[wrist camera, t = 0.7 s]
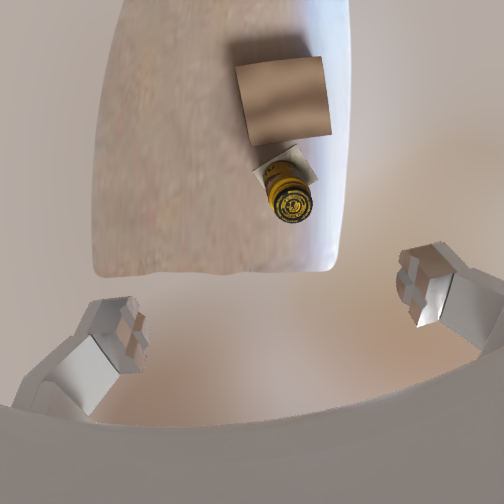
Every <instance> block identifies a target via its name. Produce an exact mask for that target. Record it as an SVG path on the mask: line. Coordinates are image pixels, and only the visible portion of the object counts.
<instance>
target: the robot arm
mask: <svg viewBox="0 0 504 504" xmlns="http://www.w3.org/2000/svg"><path fill="white" fill-rule="evenodd" d="M399 263H400V264H401V266H402V268H401V269H400V270H399V272H398V273H397V278H396V287H397V292H398V295H399V297H400V299H401V301H402V302H403V303H405V304H407V305H408V306H410V307H409V314H410V316H411V317H412V319H413V320H414V322H415V324H416V325H417V327H418V326H422V325H426V324H429V323H433V322H436V321H439V320H440V322H441V323H442V324H444V325H445V326H447V327H448V328H450V329H451V330H453V331H454V332H455V333H457V334H458V335H460V336H461V337H463V338H464V339H466V340H467V341H468V342H470V343H471V344H473V345H474V346H475V347H477V348H478V349H480V350H481V352H480V354H479V356H478V358H477V359H476V360H474V361H472V362H470V363H468V364H465V365H463V366H461V367H459V368H456V369H454V370H452V371H449V372H447V373H444V374H442V375H439V376H437V377H434V378H432V379H429V380H426V381H424V382H421V383H418V384H415V385H413V386H410V387H407V388H404V389H401V390H398V391H395V392H392V393H389V394H385V395H382V396H378V397H375V398H372V399H368V400H365V401H361V402H357V403H353V404H349V405H345V406H341V407H336V408H332V409H328V410H323V411H318V412H313V413H308V414H302V415H297V416H291V417H285V418H279V419H271V420H264V421H256V422H247V423H237V424H226V425H211V426H185V427H156V426H130V425H115V424H104V423H96V422H95V421H94V420H93V419H91V418H90V417H89V415H90V414H91V412H92V411H93V410H94V408H95V407H96V406H97V404H98V403H99V402H100V400H101V399H102V398H103V397H104V395H105V394H106V393H107V391H108V390H109V389H110V387H111V386H112V385H113V384H114V382H115V381H116V380H117V378H118V377H119V376H120V375H119V374H132V373H143V370H144V365H145V361H146V357H147V356H146V354H145V353H144V350H145V349H146V348H147V347H148V346H149V344H150V339H151V333H150V327H149V323H148V321H147V319H146V317H145V316H144V315H142V314H141V313H139V312H138V311H139V307H140V305H139V303H138V302H137V300H136V298H135V297H132V296H128V297H119V298H110V299H101V300H94V301H92V302H90V303H89V305H88V308H87V309H86V311H85V313H84V315H83V317H82V319H81V321H80V323H79V325H78V328H77V330H76V332H75V334H74V336H70V337H69V338H68V339H66V340H65V341H64V342H63V343H62V344H60V345H59V346H58V347H57V348H56V349H55V350H54V351H52V352H51V353H50V354H49V355H48V356H47V357H46V358H45V359H44V360H42V361H41V362H40V363H39V364H38V365H37V366H36V367H35V368H34V369H33V370H31V371H30V372H29V373H28V374H27V375H26V376H25V377H24V378H23V380H22V382H21V384H20V387H19V389H18V392H17V394H16V397H15V399H14V401H13V404H12V406H11V407H8V406H4V405H0V504H504V281H503V280H501V279H499V278H496V277H494V276H492V275H489V274H487V273H485V272H482V271H480V270H478V269H475V268H471V269H470V268H469V267H468V266H467V265H466V264H465V263H464V262H463V261H462V260H461V259H460V258H459V257H458V256H457V255H456V254H455V252H453V250H452V249H451V248H450V247H449V246H448V245H447V244H446V243H444V242H441V241H439V242H435V243H431V244H428V245H425V246H420V247H415V248H411V249H406V250H402V251H401V253H400V255H399Z"/></svg>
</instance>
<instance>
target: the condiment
mask: <svg viewBox="0 0 504 504" xmlns="http://www.w3.org/2000/svg"><path fill="white" fill-rule="evenodd" d="M290 161H291V162H290ZM292 161H294V162H292ZM253 173H254V174H255V176H256V177H257V179H258V180H259V181H260V183H261V184H262V186H263V187H264V188H265V190H266V193H267V196H268V201H269V203H270V206H271V208H272V209H273V210H274V212H275V214H276V215H277V217H278V218H279V219H281V220H282V221H284V222H287V223H298V222H301V221H303V220H304V219H306V218H307V217H308V216H309V215H310V213H311V210H312V206H313V201H312V198H311V192H310V189H309V187H308V185H310V184H312V183H314V182H315V181H317V180H318V179H317V177H316V176H315V174H314V172H313V171H312V169H311V167H310V166H309V164H308V162H307V161H306V159H305V157H304V156H303V154H302V152H301V151H300V149H299V148H298V146H297V145H295V146H293V147H292V148H290V149H288V150H287V151H285V152H283V153H282V154H280V155H278V156H277V157H275V158H273V159H272V160H270V161H268V162H267V163H265V164H263V165H262V166H260V167H259V168H257V169H256V170H254V171H253Z"/></svg>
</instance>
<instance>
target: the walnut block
mask: <svg viewBox="0 0 504 504" xmlns="http://www.w3.org/2000/svg"><path fill="white" fill-rule="evenodd" d="M235 71H236V76H237V81H238V85H239V90H240V95H241V100H242V105H243V110H244V115H245V120H246V125H247V130H248V135H249V140H250V144H251V147H253V146H259V145H264V144H270V143H276V142H282V141H289V140H295V139H302V138H309V137H317V136H325V135H332V131H331V122H330V114H329V105H328V98H327V90H326V83H325V77H324V70H323V64H322V58H321V56H318V57H305V58H294V59H284V60H276V61H268V62H261V63H255V64H249V65H243V66H237V67H235Z"/></svg>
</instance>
